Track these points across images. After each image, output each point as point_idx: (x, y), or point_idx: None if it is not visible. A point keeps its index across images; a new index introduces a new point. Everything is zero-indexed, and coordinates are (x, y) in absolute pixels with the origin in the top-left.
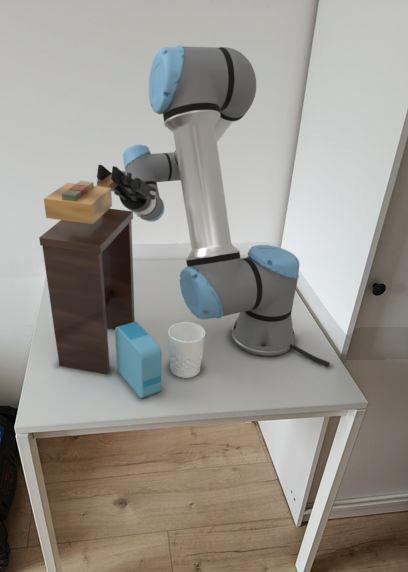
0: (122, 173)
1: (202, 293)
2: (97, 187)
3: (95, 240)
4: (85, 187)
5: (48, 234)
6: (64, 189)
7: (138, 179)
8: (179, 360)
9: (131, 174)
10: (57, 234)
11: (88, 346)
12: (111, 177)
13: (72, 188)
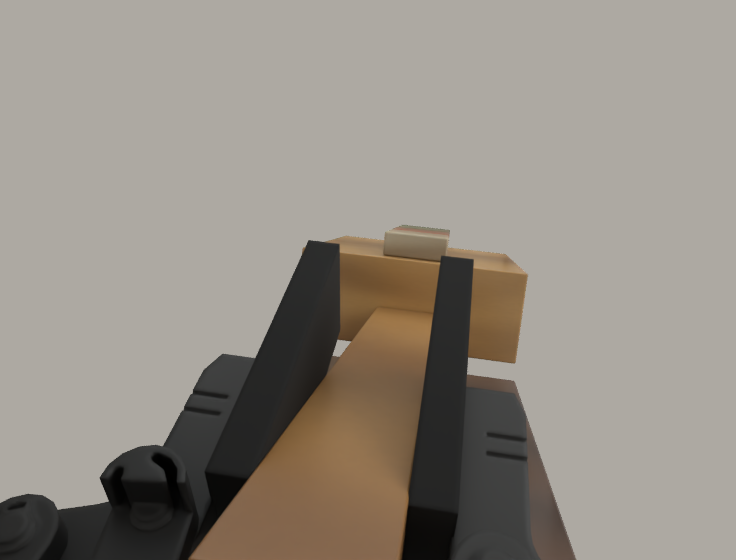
0: (249, 381)
1: None
2: (365, 253)
3: (332, 365)
4: (395, 228)
5: (499, 386)
6: (489, 261)
7: (11, 508)
8: None
9: (108, 478)
10: (471, 386)
11: None
12: (338, 318)
13: (437, 231)
